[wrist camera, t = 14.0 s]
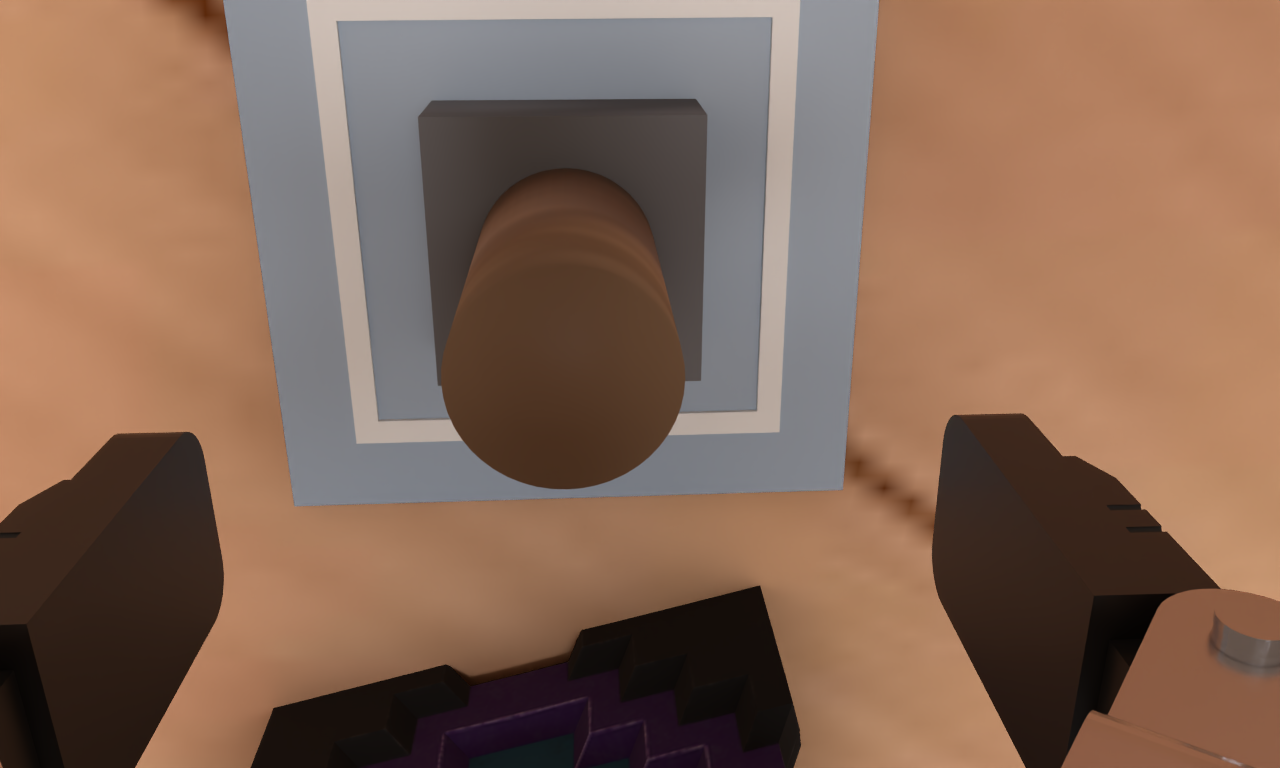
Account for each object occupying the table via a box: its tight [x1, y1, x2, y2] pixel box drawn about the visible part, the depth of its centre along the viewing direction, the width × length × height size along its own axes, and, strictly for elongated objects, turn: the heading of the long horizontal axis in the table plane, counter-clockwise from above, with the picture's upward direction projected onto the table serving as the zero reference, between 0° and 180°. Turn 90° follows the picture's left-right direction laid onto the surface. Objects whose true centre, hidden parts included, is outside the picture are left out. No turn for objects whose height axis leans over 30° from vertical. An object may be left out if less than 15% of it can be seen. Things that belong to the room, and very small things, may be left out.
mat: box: [223, 0, 879, 506], centre depth 22 cm, size 12×12×1 cm
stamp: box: [418, 99, 708, 490], centre depth 18 cm, size 5×5×8 cm
